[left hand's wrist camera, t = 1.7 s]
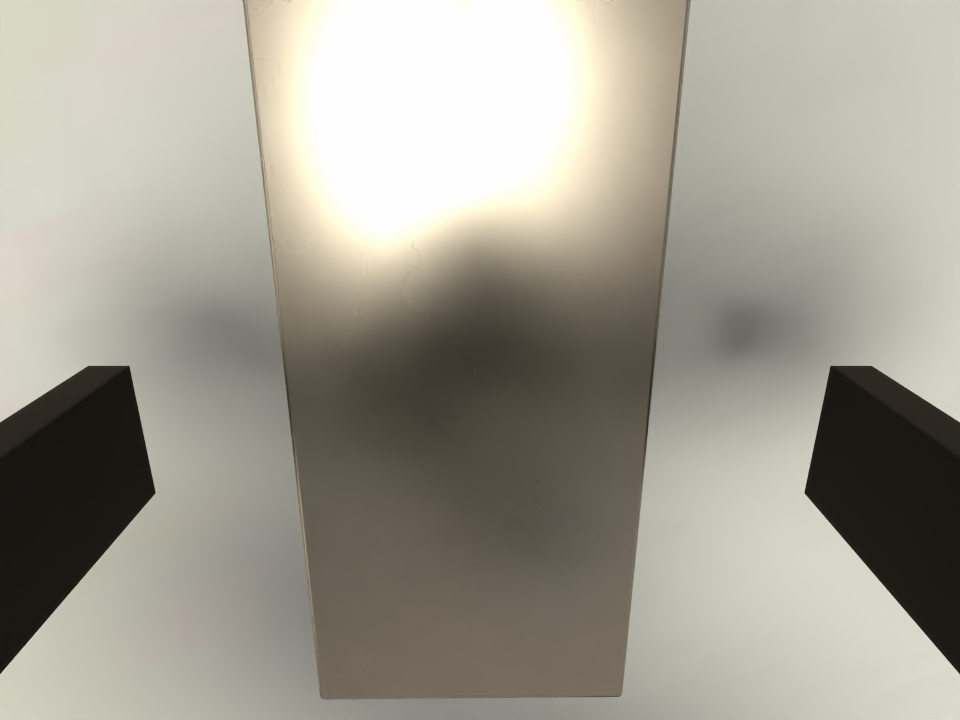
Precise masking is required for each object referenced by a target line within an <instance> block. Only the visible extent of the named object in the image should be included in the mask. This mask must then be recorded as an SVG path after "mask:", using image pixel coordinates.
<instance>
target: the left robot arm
mask: <svg viewBox="0 0 960 720" xmlns="http://www.w3.org/2000/svg"><path fill="white" fill-rule="evenodd" d="M154 494H155V488H154V483H153V478H152V474H151V469H150V464H149V459H148V454H147V449H146V444H145V440H144V435H143V430H142V425H141V420H140V415H139V411H138V406H137V401H136V396H135V391H134V386H133V381H132V377H131V372H130V367H129V366H88V367H86V368H84V369H83V370H81V371H80V372H78V373H77V374H75V375H74V376H72V377H70V378H69V379H67V380H66V381H64V382H63V383H61V384H60V385H58V386H56V387H55V388H53V389H52V390H50V391H49V392H47V393H45V394H44V395H42V396H41V397H39V398H38V399H36V400H35V401H33V402H31V403H30V404H28V405H27V406H25V407H24V408H22V409H21V410H19V411H17V412H16V413H14V414H13V415H11V416H10V417H8V418H6V419H5V420H3V421H2V422H0V674H1V672H2V671H3V670H4V669H5V668H6V667H7V665H8V664H9V663H10V662H11V661H12V660H13V658H14V657H15V656H16V655H17V654H18V653H19V651H20V650H21V649H22V648H23V647H24V646H25V644H26V643H27V642H28V641H29V640H30V639H31V638H32V636H33V635H34V634H35V633H36V632H37V631H38V629H39V628H40V627H41V626H42V625H43V624H44V622H45V621H46V620H47V619H48V618H49V617H50V615H51V614H52V613H53V612H54V611H55V610H56V608H57V607H58V606H59V605H60V604H61V603H62V601H63V600H64V599H65V598H66V597H67V596H68V594H69V593H70V592H71V591H72V590H73V589H74V587H75V586H76V585H77V584H78V583H79V582H80V580H81V579H82V578H83V577H84V576H85V575H86V573H87V572H88V571H89V570H90V569H91V568H92V566H93V565H94V564H95V563H96V562H97V561H98V559H99V558H100V557H101V556H102V555H103V554H104V552H105V551H106V550H107V549H108V548H109V547H110V545H111V544H112V543H113V542H114V541H115V540H116V538H117V537H118V536H119V535H120V534H121V533H122V532H123V530H124V529H125V528H126V527H127V526H128V525H129V523H130V522H131V521H132V520H133V519H134V518H135V516H136V515H137V514H138V513H139V512H140V511H141V509H142V508H143V507H144V506H145V505H146V504H147V502H148V501H149V500H150V499H151V498H152V497H153V495H154ZM805 494H806V495H807V497H808V498H809V499H810V500H811V501H812V502H813V504H814V505H815V506H816V507H817V508H818V509H819V511H820V512H821V513H822V514H823V515H824V516H825V518H826V519H827V520H828V521H829V522H830V523H831V525H832V526H833V527H834V528H835V529H836V530H837V532H838V533H839V534H840V535H841V536H842V537H843V538H844V540H845V541H846V542H847V543H848V544H849V545H850V547H851V548H852V549H853V550H854V551H855V552H856V554H857V555H858V556H859V557H860V558H861V559H862V561H863V562H864V563H865V564H866V565H867V566H868V568H869V569H870V570H871V571H872V572H873V573H874V575H875V576H876V577H877V578H878V579H879V580H880V582H881V583H882V584H883V585H884V586H885V587H886V589H887V590H888V591H889V592H890V593H891V594H892V596H893V597H894V598H895V599H896V600H897V601H898V603H899V604H900V605H901V606H902V607H903V608H904V610H905V611H906V612H907V613H908V614H909V615H910V617H911V618H912V619H913V620H914V621H915V622H916V624H917V625H918V626H919V627H920V628H921V629H922V631H923V632H924V633H925V634H926V635H927V636H928V638H929V639H930V640H931V641H932V642H933V643H934V644H935V646H936V647H937V648H938V649H939V650H940V651H941V653H942V654H943V655H944V656H945V657H946V658H947V660H948V661H949V662H950V663H951V664H952V665H953V667H954V668H955V669H956V670H957V671H958V672H959V674H960V422H958V421H957V420H955V419H954V418H952V417H950V416H949V415H947V414H946V413H944V412H943V411H941V410H939V409H938V408H936V407H935V406H933V405H932V404H930V403H929V402H927V401H925V400H924V399H922V398H921V397H919V396H918V395H916V394H915V393H913V392H911V391H910V390H908V389H907V388H905V387H904V386H902V385H900V384H899V383H897V382H896V381H894V380H893V379H891V378H890V377H888V376H886V375H885V374H883V373H882V372H880V371H879V370H877V369H876V368H874V367H872V366H831V367H830V372H829V377H828V381H827V386H826V391H825V396H824V401H823V406H822V411H821V415H820V420H819V425H818V430H817V435H816V440H815V444H814V449H813V454H812V459H811V464H810V469H809V474H808V478H807V483H806V488H805Z"/></svg>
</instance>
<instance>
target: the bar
mask: <svg viewBox="0 0 960 720" xmlns="http://www.w3.org/2000/svg"><path fill="white" fill-rule="evenodd" d="M690 2H691V0H243V7H244V15H245V24H246V33H247V42H248V51H249V60H250V69H251V78H252V87H253V96H254V105H255V114H256V123H257V132H258V141H259V150H260V159H261V168H262V177H263V186H264V195H265V204H266V213H267V222H268V231H269V240H270V249H271V258H272V267H273V276H274V285H275V294H276V303H277V312H278V321H279V330H280V339H281V348H282V357H283V366H284V375H285V384H286V392H287V401H288V410H289V419H290V428H291V437H292V446H293V455H294V464H295V473H296V482H297V491H298V500H299V509H300V518H301V527H302V536H303V545H304V554H305V563H306V572H307V581H308V590H309V599H310V608H311V617H312V626H313V635H314V644H315V653H316V662H317V671H318V680H319V689H320V696H321V698H322V699H410V698H526V697H619V696H621V695H622V690H623V680H624V669H625V659H626V649H627V639H628V629H629V619H630V609H631V599H632V588H633V578H634V568H635V558H636V548H637V538H638V528H639V518H640V508H641V497H642V487H643V477H644V467H645V457H646V447H647V437H648V427H649V416H650V406H651V396H652V386H653V376H654V366H655V356H656V346H657V336H658V325H659V315H660V305H661V295H662V285H663V275H664V265H665V255H666V244H667V234H668V224H669V214H670V204H671V194H672V184H673V174H674V164H675V153H676V143H677V133H678V123H679V113H680V103H681V93H682V83H683V73H684V62H685V52H686V42H687V32H688V22H689V12H690Z"/></svg>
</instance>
